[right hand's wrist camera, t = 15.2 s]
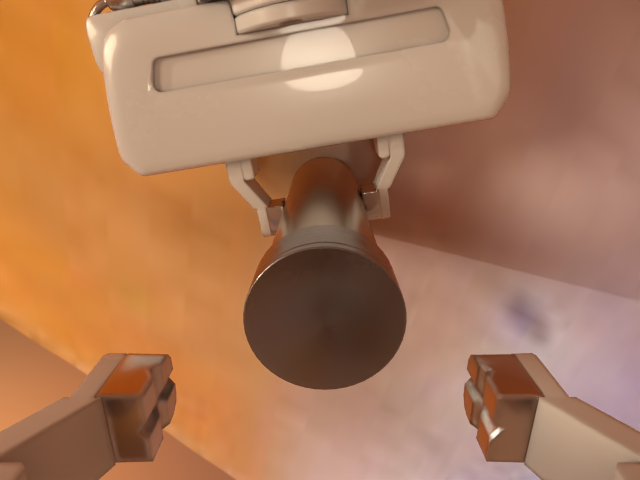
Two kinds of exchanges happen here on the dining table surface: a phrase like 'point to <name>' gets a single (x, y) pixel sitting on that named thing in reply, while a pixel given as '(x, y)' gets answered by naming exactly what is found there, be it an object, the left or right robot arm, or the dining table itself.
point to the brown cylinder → (324, 199)
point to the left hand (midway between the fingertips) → (327, 224)
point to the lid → (324, 308)
